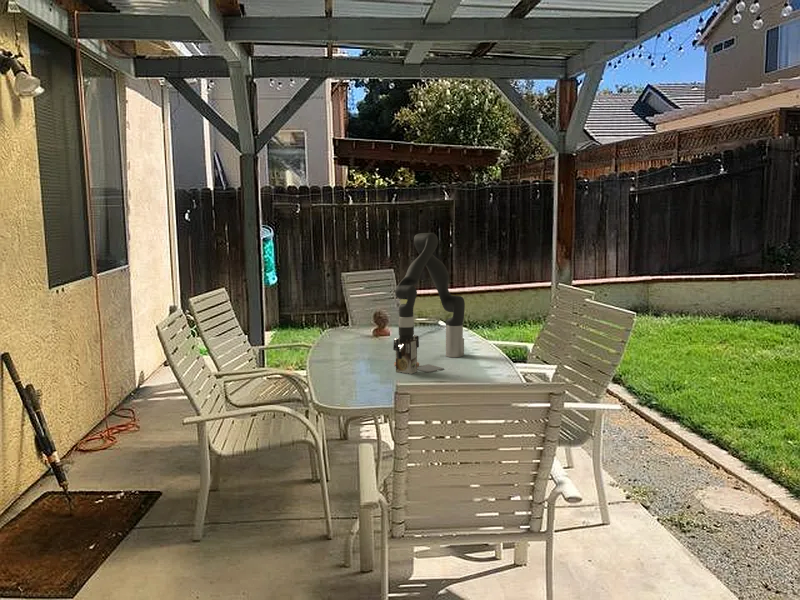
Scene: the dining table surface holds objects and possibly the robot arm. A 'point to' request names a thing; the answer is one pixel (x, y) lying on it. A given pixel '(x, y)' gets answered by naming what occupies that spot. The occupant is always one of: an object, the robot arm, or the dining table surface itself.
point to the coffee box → (407, 357)
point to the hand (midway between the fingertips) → (406, 357)
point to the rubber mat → (428, 368)
